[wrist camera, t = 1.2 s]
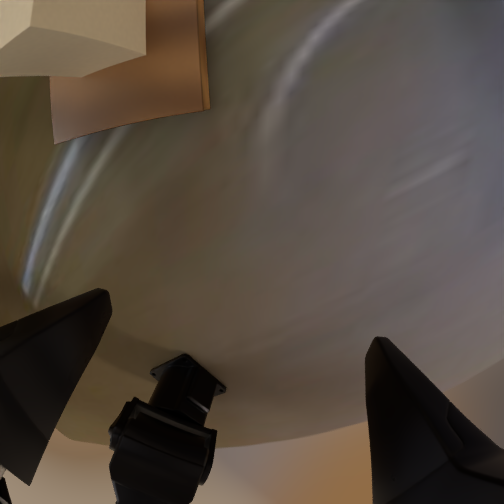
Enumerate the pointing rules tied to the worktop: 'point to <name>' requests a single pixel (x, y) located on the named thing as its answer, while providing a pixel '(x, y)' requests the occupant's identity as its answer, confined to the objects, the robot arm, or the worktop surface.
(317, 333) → the worktop surface
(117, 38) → the cream box
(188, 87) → the wooden base plate
